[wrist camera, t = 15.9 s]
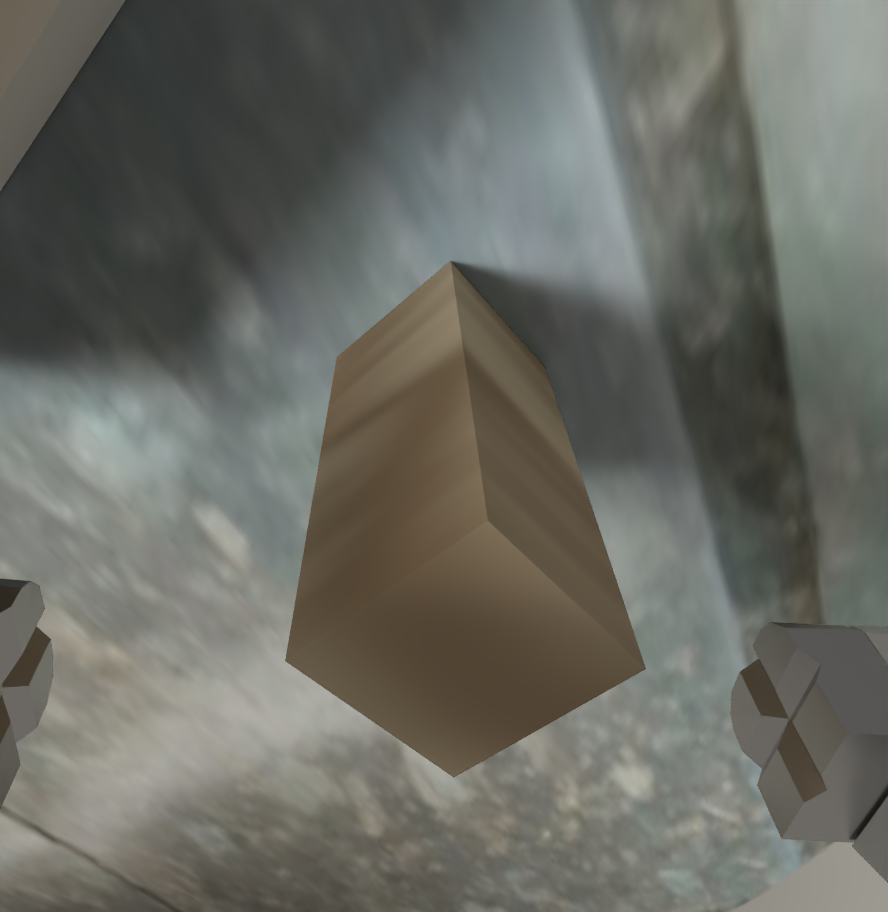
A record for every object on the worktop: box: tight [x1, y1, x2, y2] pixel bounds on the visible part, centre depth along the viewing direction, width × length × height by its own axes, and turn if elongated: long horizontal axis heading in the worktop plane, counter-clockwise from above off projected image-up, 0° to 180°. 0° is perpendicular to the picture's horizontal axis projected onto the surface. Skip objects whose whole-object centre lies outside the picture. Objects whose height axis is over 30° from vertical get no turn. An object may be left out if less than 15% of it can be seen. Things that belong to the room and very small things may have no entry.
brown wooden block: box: [285, 261, 646, 777], centre depth 13 cm, size 3×3×8 cm
